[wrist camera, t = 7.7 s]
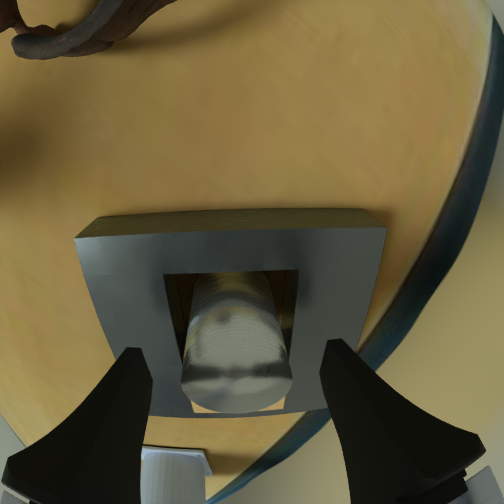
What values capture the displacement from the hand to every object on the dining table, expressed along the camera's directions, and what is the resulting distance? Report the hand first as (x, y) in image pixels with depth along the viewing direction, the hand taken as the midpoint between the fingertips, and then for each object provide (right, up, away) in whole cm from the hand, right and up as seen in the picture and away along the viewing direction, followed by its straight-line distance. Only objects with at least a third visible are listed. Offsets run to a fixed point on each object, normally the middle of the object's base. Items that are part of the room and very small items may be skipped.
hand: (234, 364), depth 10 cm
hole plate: (0, 0, +5) cm, 5 cm away
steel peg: (0, +2, +4) cm, 5 cm away
